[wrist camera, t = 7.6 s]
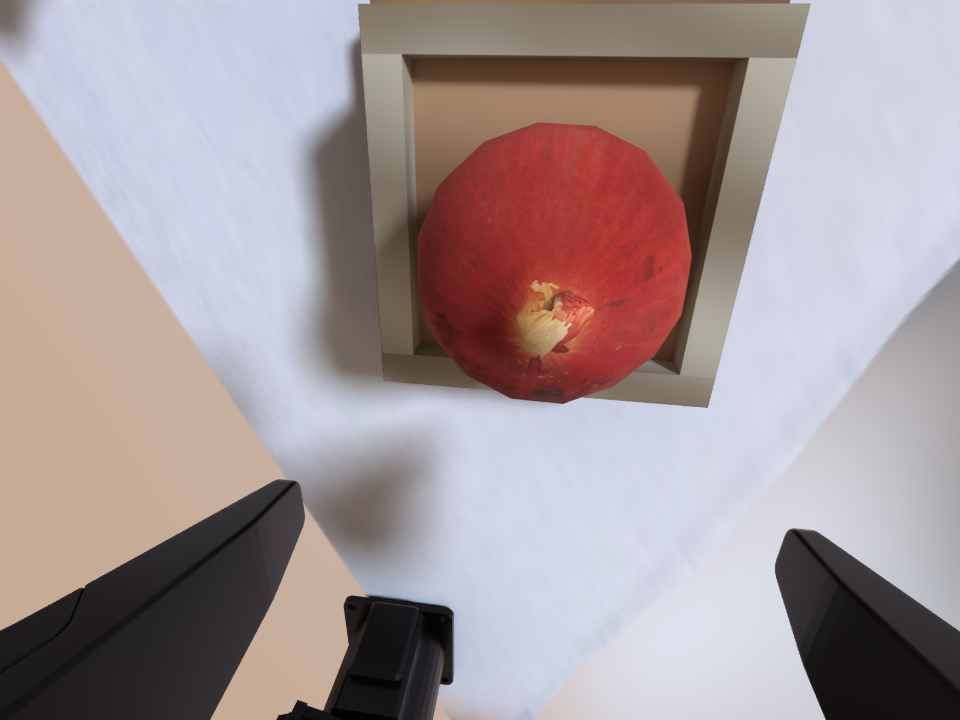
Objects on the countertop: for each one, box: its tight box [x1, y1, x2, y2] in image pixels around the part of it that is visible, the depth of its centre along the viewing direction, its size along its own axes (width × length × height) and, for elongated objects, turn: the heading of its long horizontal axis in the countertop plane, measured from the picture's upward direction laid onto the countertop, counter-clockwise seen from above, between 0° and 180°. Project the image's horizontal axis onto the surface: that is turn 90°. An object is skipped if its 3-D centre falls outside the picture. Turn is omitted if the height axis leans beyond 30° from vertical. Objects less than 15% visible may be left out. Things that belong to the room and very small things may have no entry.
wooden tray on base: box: [358, 0, 810, 408], centre depth 16 cm, size 12×12×6 cm
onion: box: [417, 122, 692, 404], centre depth 11 cm, size 6×6×8 cm
